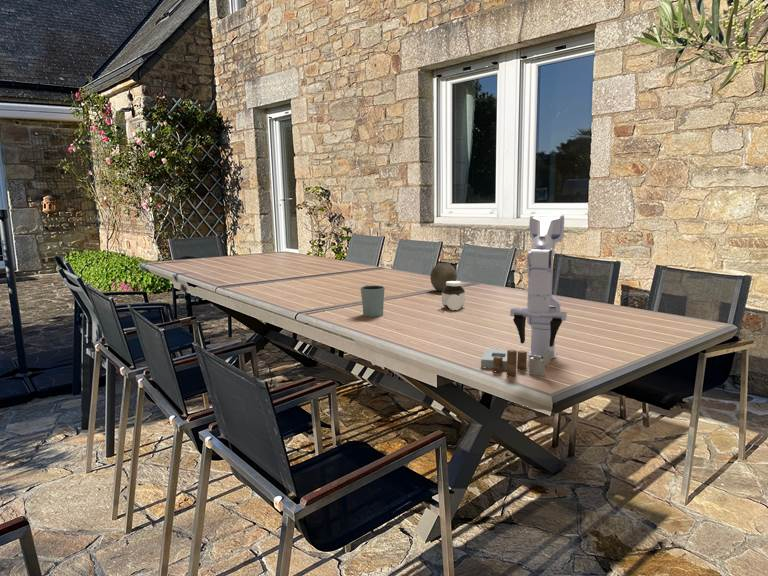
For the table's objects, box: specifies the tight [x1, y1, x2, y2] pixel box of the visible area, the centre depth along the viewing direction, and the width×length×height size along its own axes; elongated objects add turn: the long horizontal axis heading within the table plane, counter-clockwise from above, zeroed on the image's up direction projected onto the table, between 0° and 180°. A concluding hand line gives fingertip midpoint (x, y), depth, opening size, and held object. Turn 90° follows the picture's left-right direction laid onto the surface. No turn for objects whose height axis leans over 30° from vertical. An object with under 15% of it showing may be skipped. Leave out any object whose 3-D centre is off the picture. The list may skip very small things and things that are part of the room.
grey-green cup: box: [360, 284, 386, 318], centre depth 240 cm, size 10×10×12 cm
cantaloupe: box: [429, 262, 458, 292], centre depth 299 cm, size 14×14×15 cm
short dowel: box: [492, 356, 503, 373], centre depth 162 cm, size 3×3×4 cm
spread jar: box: [441, 280, 466, 311], centre depth 253 cm, size 12×11×12 cm
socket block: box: [480, 348, 508, 370], centre depth 170 cm, size 12×9×2 cm
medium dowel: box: [516, 350, 528, 371], centre depth 164 cm, size 3×3×5 cm
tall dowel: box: [506, 349, 518, 378], centre depth 158 cm, size 3×3×7 cm
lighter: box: [528, 349, 555, 377], centre depth 158 cm, size 7×2×8 cm, turn 41°
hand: (536, 344), depth 153 cm, fingers open, 7 cm apart
